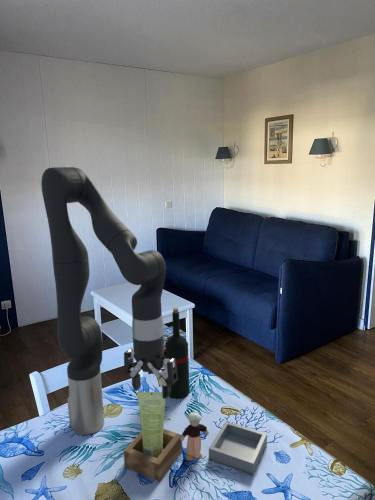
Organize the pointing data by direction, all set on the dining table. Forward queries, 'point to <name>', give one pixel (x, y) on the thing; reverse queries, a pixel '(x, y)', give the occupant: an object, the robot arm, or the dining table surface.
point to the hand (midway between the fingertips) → (151, 393)
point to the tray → (238, 447)
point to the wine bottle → (178, 359)
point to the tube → (152, 421)
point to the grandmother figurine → (194, 436)
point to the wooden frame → (150, 464)
